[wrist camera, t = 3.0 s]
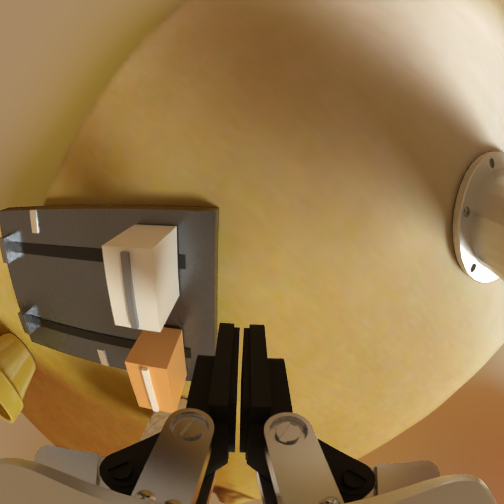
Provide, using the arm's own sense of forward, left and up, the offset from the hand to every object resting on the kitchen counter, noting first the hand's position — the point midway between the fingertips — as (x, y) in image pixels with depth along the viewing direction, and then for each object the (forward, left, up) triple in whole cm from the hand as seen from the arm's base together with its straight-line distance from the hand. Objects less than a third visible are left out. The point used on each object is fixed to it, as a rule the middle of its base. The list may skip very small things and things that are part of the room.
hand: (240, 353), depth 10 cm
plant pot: (+31, +16, -10) cm, 37 cm away
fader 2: (+6, +8, -8) cm, 13 cm away
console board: (+13, +4, -10) cm, 17 cm away
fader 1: (+6, 0, -8) cm, 10 cm away
